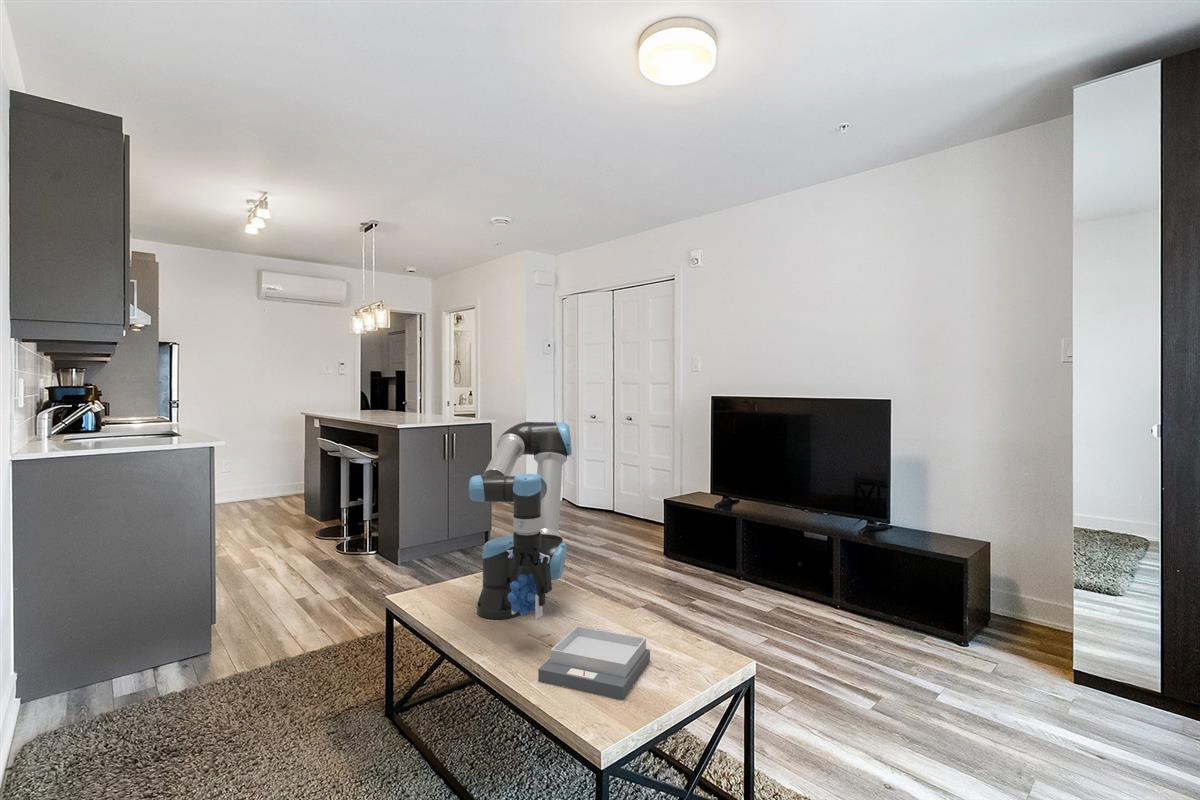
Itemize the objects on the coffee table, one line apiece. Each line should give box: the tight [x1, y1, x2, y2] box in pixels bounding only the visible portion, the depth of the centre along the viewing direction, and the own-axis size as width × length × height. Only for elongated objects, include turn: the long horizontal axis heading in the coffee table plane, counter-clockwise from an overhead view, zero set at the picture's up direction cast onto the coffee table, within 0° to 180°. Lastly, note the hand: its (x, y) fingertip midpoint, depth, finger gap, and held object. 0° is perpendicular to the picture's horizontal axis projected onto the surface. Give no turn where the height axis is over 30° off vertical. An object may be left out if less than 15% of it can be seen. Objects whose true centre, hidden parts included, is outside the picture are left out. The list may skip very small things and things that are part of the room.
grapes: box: [508, 574, 538, 617], centre depth 157 cm, size 12×7×12 cm, turn 135°
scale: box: [537, 625, 651, 701], centre depth 146 cm, size 22×21×6 cm
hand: (526, 614), depth 158 cm, fingers closed on grapes, 7 cm apart
